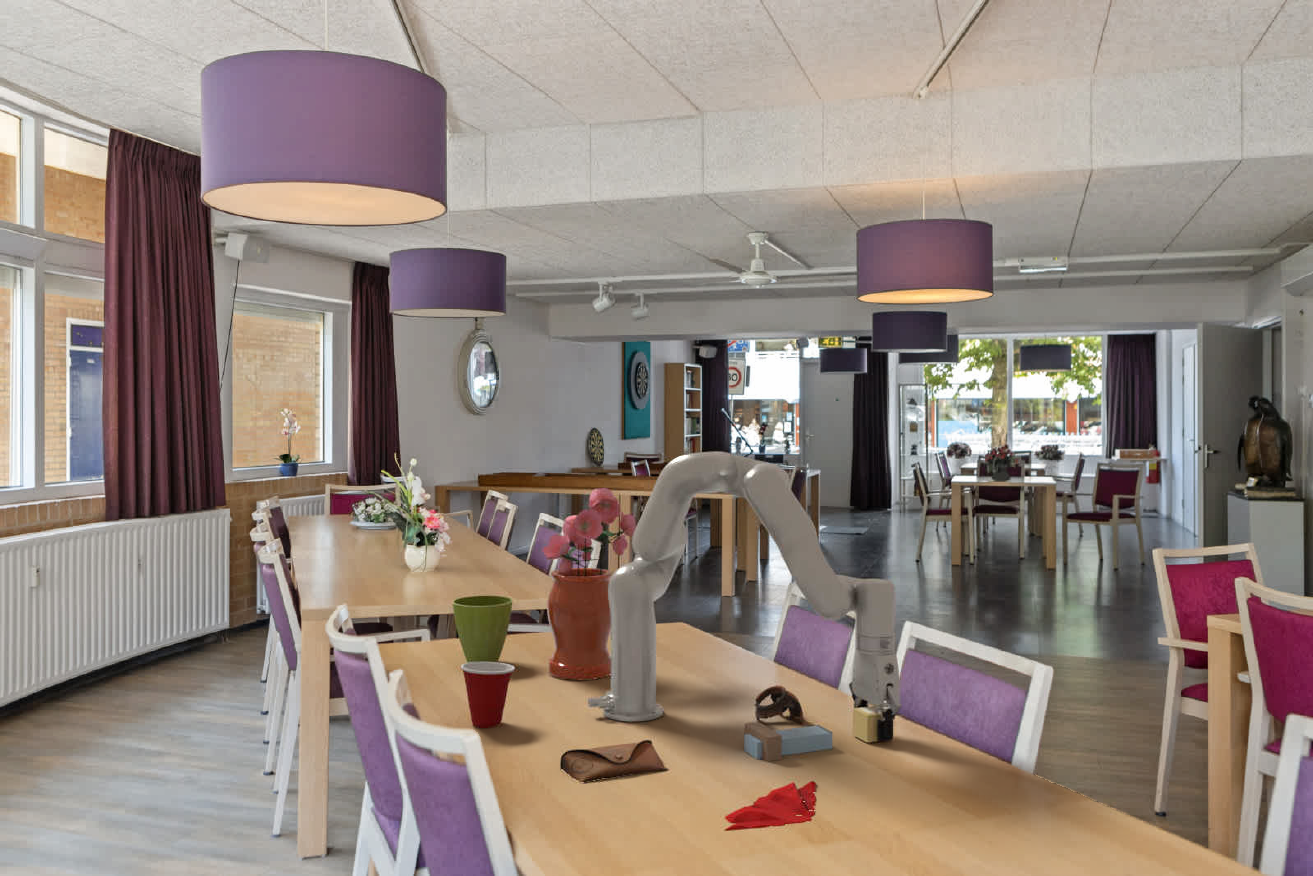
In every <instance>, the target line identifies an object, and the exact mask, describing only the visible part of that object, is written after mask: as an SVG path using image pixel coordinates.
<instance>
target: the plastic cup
mask: <svg viewBox="0 0 1313 876" xmlns="http://www.w3.org/2000/svg"><path fill="white" fill-rule="evenodd" d="M460 668H461V670H462V673H463V678H464V683H465V689H466V694H467V695H466V696H467V701H468V702H467V703H468V709H469V710H470V711H469V712H470V713H469V714H470V718H471V719H470V720H471V723H472V726H473V727H475V728H480V729H491V728H496V727H497V725H498V726H500V725H501V724H502V720H503V714H504V708H505V705H506V700H507V694H508V688H509V684H510V680H511V677H512V674H513V672H514V671H515V669H516V668H515V666H514V665H512V664H509V663H504V662H498V663H497V662H471V663H468V662H466V663H463V664H461V665H460ZM500 723H501V724H500ZM499 724H500V725H499ZM495 726H496V727H495ZM490 727H491V728H490Z"/></svg>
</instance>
